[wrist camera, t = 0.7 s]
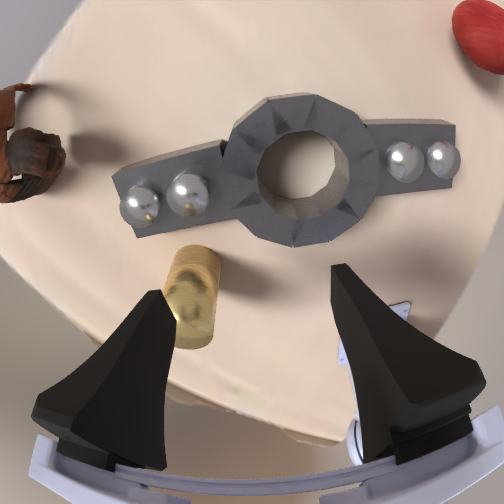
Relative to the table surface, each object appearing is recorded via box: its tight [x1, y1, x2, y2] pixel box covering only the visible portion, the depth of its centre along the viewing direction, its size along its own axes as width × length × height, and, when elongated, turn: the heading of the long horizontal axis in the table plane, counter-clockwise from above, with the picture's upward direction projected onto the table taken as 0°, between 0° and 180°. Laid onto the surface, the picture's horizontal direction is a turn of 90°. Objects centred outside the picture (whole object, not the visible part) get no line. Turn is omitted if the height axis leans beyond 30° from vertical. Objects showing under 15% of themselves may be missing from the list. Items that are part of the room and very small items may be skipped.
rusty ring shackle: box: [0, 83, 66, 203], centre depth 13 cm, size 12×10×8 cm
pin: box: [162, 245, 221, 349], centre depth 20 cm, size 4×4×7 cm
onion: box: [452, 0, 504, 75], centre depth 7 cm, size 6×6×8 cm
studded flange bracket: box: [111, 93, 461, 247], centre depth 16 cm, size 9×24×3 cm, turn 101°
